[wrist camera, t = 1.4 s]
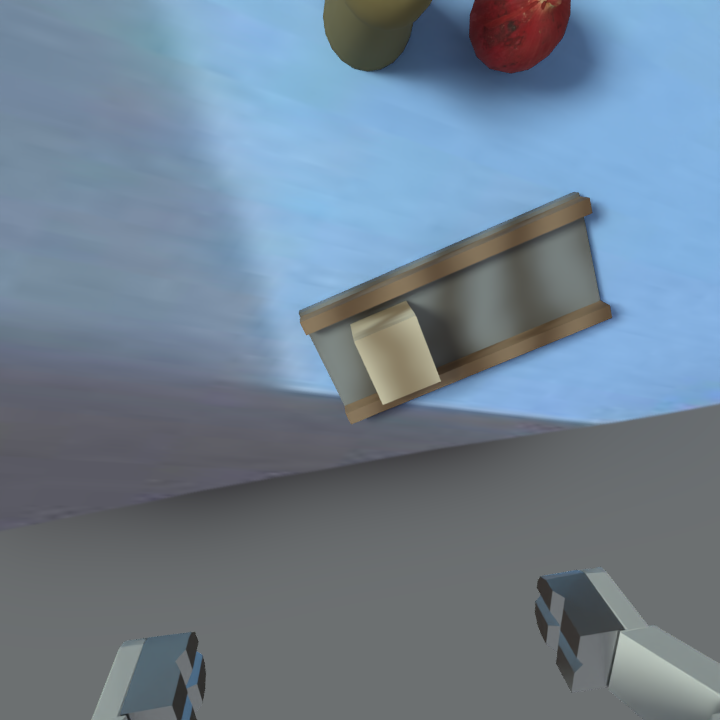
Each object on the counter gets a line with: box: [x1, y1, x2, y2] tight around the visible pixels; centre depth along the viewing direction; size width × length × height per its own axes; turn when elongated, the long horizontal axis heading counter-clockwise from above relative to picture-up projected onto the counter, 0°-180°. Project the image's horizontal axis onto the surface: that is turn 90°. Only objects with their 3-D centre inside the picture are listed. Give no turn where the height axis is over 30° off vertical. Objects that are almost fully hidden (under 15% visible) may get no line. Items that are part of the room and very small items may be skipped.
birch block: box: [350, 301, 441, 405], centre depth 37 cm, size 5×6×4 cm
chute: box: [299, 192, 612, 424], centre depth 39 cm, size 24×11×2 cm, turn 113°
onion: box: [469, 0, 571, 73], centre depth 28 cm, size 6×6×8 cm
